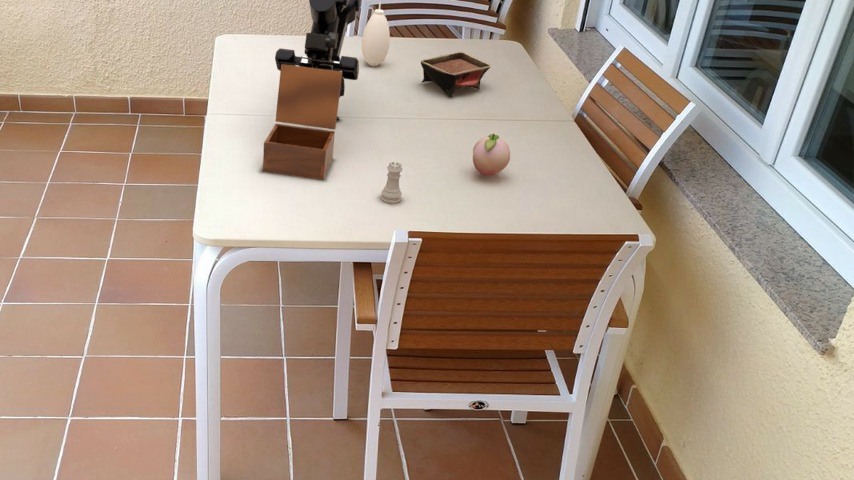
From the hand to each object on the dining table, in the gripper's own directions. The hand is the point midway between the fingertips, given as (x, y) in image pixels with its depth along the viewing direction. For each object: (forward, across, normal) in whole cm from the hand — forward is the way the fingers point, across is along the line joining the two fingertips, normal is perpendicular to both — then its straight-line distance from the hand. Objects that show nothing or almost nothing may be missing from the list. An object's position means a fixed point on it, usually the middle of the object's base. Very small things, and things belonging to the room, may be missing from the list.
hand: (310, 98), depth 217 cm
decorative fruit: (+10, +42, +7) cm, 43 cm away
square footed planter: (-31, +30, +47) cm, 64 cm away
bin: (+16, 0, +1) cm, 16 cm away
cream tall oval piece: (-39, +7, +55) cm, 68 cm away
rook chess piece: (+24, +22, -6) cm, 33 cm away
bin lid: (+1, 0, -3) cm, 4 cm away
